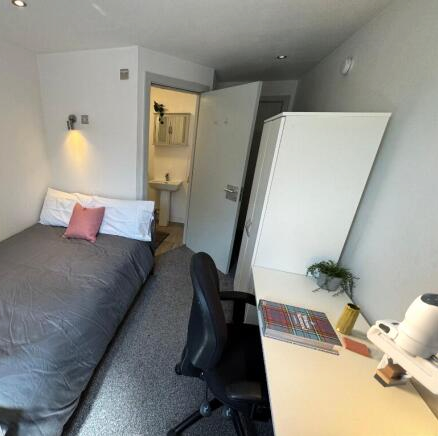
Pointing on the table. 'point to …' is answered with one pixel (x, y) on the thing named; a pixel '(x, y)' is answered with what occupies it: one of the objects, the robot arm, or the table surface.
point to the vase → (348, 318)
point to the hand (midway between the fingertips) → (395, 373)
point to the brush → (390, 375)
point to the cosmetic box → (383, 363)
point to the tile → (356, 346)
